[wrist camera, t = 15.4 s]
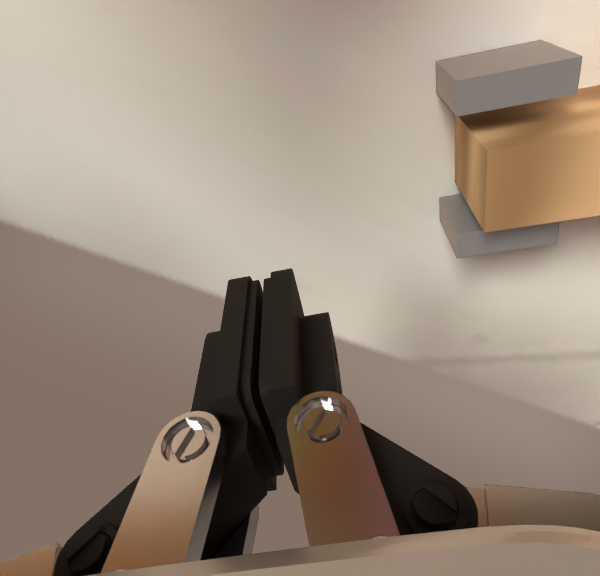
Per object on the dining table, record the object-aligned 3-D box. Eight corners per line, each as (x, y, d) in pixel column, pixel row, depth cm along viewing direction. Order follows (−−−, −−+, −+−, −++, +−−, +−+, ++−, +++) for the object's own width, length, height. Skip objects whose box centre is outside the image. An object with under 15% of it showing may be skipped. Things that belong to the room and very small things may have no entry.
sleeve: (439, 219, 23) (456, 258, 20) (435, 61, 19) (456, 80, 16) (525, 206, 22) (556, 244, 19) (541, 39, 18) (582, 56, 15)
